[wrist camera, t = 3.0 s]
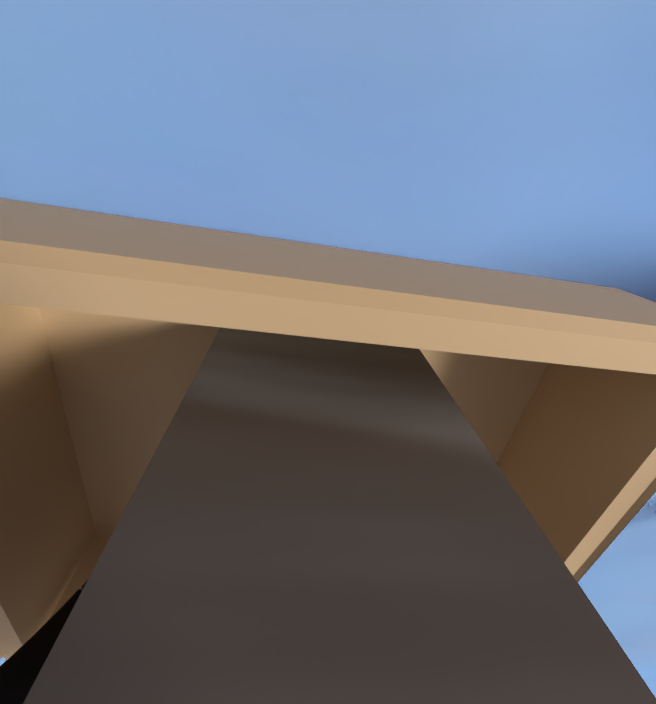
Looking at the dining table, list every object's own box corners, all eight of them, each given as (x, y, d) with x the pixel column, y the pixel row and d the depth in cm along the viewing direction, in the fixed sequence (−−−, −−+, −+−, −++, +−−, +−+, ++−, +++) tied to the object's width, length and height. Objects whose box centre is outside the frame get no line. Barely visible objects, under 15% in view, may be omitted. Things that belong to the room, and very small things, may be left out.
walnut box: (357, 532, 13) (418, 916, 6) (220, 529, 12) (124, 954, 5) (415, 343, 9) (715, 785, 2) (223, 321, 8) (-54, 852, 2)
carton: (488, 536, 16) (553, 662, 12) (45, 523, 13) (-67, 677, 9) (638, 282, 10) (860, 354, 6) (-78, 174, 8) (-501, 177, 4)
